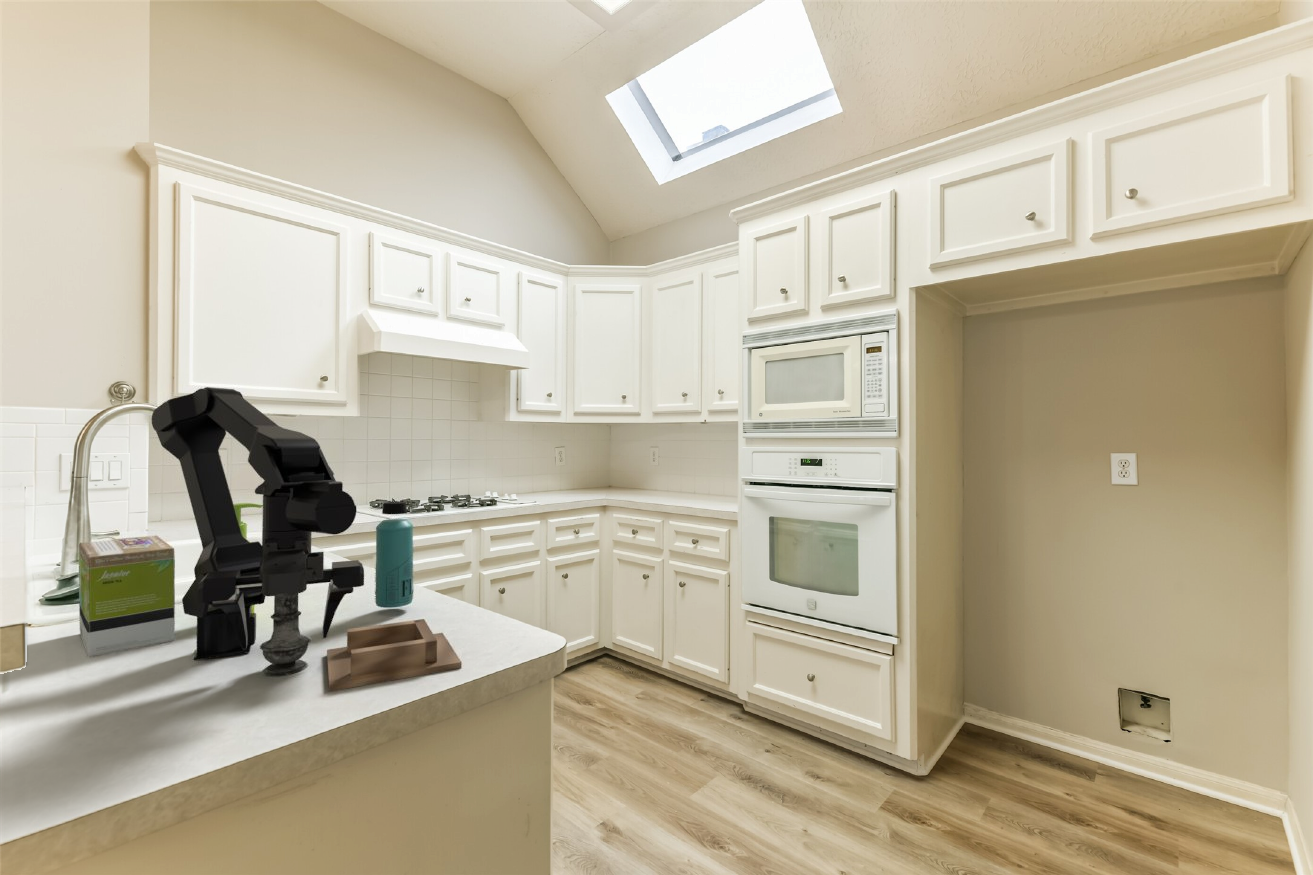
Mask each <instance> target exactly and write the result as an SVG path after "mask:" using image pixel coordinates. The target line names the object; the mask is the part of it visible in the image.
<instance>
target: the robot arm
mask: <svg viewBox="0 0 1313 875" xmlns="http://www.w3.org/2000/svg"><path fill="white" fill-rule="evenodd" d="M243 396H244V395H243V394H242V393H241V392H240V391H238V390H236V389H234V388H225V387H224V388H223V387H212V386H211V387H210V386H205V387H203V388H201V387H200V388H199V389H197V390H196V391H194V392H193V393H189V394H185V395H181V396H177V397H174V398H170V399H167V400H166V401H164V402H162V403H161V404H160V405H159V406H157V407H156V408H155V409H154V410H153V411H152V414H151V425H152V428H153V430H154V431H155V432H156V434H157V438H158V440H159V442H160V445H161V446H162V448H164V449H165V450H166V451H167V452H169V453H170V454H171V455H172V456H173V457H175V458H176V459H178V460H179V463H180V468H181V470H182V475H183V478H184V482H185V486H186V489H187V490H186V491H187V494H188V498H189V501H190V505H191V508H192V509H191V510H192V513H193V515H194V520H195V524H196V526H197V530H198V535H199V539H200V542H201V547H202V551H201V552H200V555H199V558H198V559H197V561H196V564H195V566H194V568H193V571H194V578H195V579H194V580H193V582H192V584H191V585H190V586H189V588H188V589H187V591H186V592H185V593H184V596H183V597H182V600H181V601H182V608H183V613H184V614H185V615H188V616H193V617H196V652H195V653H194V655H193V661H200V660H201V661H202V660H206V659H214V658H221V657H228V656H235V655H242V654H248V653H250V652H251V649H252V646H254V644H256V640H257V613H256V612H254V613H252V605H254V606H256V605H262V604H264V603H265V600H266V597H274V596H275V595H277V594H285V593H293V594H298V595H299V594H301V593H302V594H303V593H304V592H305V591H307V588H308V585H315V584H325V583H326V584H327V583H328V588H327V595H326V601H325V608H324V615H323V621H322V639H326V638H327V636H328V634H329V630H330V627H331V626H332V623H333V620H334V617H335V615H336V612H337V610H338V607H339V605H340V603H341V602H342V601H343V598H344V597H345V596H346V595H348V594H352V593H353V592H354V588H359V587H363V586H365V568H364V566H363V563H362V562H360V560H358V559H357V560H345V561H344V560H343V561H333V562H331V568H324V560H325V558H324V553H325V552H324V551H316V552H313V551H312V533H318V534H324V535H325V534H326V535H339V534H342V533H344V532H345V531H347V530H348V529H349V528H351V526H352V525H353V523H354V521H355V519H356V516H357V505H356V504H355V500H354V499H353V497H352V496H351V495H350V494H349V493H348V492H346V491H344V490H343V488H344V487H343V482H342V481H337V480H336V478H335V473H334V471H333V470H332V468H331V467H330V466H329V462H327V459H326V457H325V455H324V453H323V450H322V448H321V446H320V444H319V442H318V441H317V440H316V438H314V437H311V436H309V435H307V434H305V433H303V432H300V431H296V430H292V429H288V428H284V427H282V426H280V425H278V424H277V423H275V421H273V420H272V419H271V418H270V417H268V416H267V415H265V414H264V413H263V412H262V411H261V410H259V409H258V408H256V407H255V406H254V405H252V403H250V402H249V401H248V400H246V399H245V398H244V397H243ZM227 433H228V434H229V435H230V436H231V437H233V439H235V440H236V441H237V442H238V443H240V444H241V445H242V446H243V447H244V448H246V449H247V451H248V458H247V462H248V464H249V465H250V466H251V468H252V469H253V471H255V472H256V474H257V475H258V476H259V477H260V478H261V479H262V480H264V481H263V482H262V483H260V484H258V485H257V487H256V488H255V489H254V493H255V495H262V505H263V506H262V524H261V526H262V531H261V532H262V533H261V534H262V535H261V543H260V541H249V540H248V539H245V538H244V537H243V535H242V533H241V529H240V526H239V522H238V518H237V515H236V511H235V508H234V504H235V503H234V501H233V497H232V494H231V490H230V487H229V484H228V480H227V476H226V473H225V470H224V467H223V463H222V460H221V459H222V458H221V456H220V450H219V449H220V447H221V445H222V443H223V442H224V439H225V438H226V435H227Z"/></svg>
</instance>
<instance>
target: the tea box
mask: <svg viewBox="0 0 1313 875" xmlns="http://www.w3.org/2000/svg"><path fill="white" fill-rule="evenodd" d="M175 557H176V556H175V547H173V546H171V545H170V544H169V543H167V542H166V541H165V540H163V539H162V538H161V537H159V535H156V534H155V535H149V536H147V535H146V536H136V537H135V536H134V537H124V538H123V537H122V538H113V539H105V540H97V541H95V540H94V541H87V542H80V543H79V544H78V579H79V580H78V582H79V583H78V584H79V585H78V586H79V587H78V588H79V591H78V592H79V593H78V598H79V599H78V600H79V602H78V603H79V604H78V606H79V613H78V614H79V617H78V618H79V634H80V637H81V640H82V642H83V646H84V647H85V648H84V649H85V651H86V654H87V656H88V657H89V658H92V657H98V656H103V655H104V656H105V655H108V654H113V653H119V652H123V651H129V650H134V649H138V648H144V647H149V646H154V645H158V644H159V645H160V644H163V643H167V642H172V641H174V640H175V628H176V625H175V624H176V621H175V620H176V619H175V617H176V616H175V614H176V612H175V610H176V609H175V608H176V606H175V604H176V602H175V601H176V600H175V599H176V598H175V595H176V594H175V593H176V592H175V589H176V588H175V586H176V585H175V580H176V579H175V577H176V576H175V574H176V573H175V567H176V566H175V564H176V563H175V562H176V560H175V559H176V558H175Z"/></svg>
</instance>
